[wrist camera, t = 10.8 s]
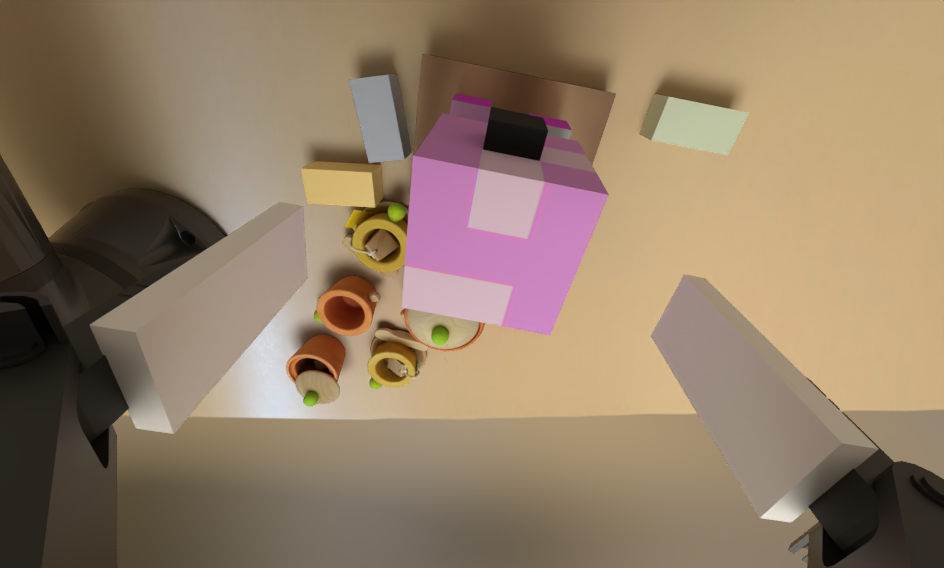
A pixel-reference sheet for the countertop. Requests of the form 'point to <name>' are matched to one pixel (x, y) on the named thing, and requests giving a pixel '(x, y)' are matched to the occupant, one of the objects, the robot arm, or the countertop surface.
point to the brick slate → (381, 117)
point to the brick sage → (692, 124)
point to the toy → (498, 216)
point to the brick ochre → (343, 184)
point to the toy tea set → (353, 312)
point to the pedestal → (511, 98)
